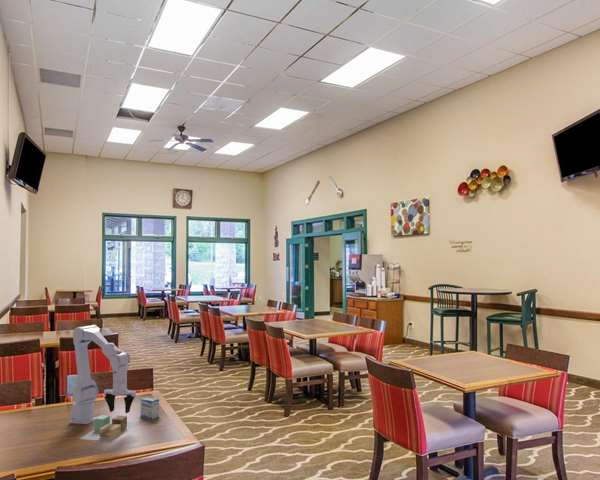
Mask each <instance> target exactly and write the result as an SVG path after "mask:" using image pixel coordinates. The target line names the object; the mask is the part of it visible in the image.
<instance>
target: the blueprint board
mask: <svg viewBox="0 0 600 480" xmlns="http://www.w3.org/2000/svg"><path fill="white" fill-rule="evenodd" d="M110 424H112V419H110ZM138 424H140V421H138V422H137V421H128V420H127V428H126V429H124V430H123V431H121V433H120V434H118V435H117V436H115V437H114V438H102V437H100V431H98V430H94V429H93V430H91V431H90V432H88V433H86V434H85V435H84V436H82V437H80V438H79V440H88V441H101V442H114V441H115V440H116V439H118V438H119V437H121V436H122V435H123V434H125V433H126V432H128V431H129V430H131V429H132V428H133V427H135V426H137V425H138Z"/></svg>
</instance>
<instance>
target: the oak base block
mask: <svg viewBox="0 0 600 480" xmlns="http://www.w3.org/2000/svg"><path fill="white" fill-rule="evenodd" d="M120 433H121V425H119V424H107V425H105V426H104V427H102V428H100V437H102V438H114V437H115V436H117V435H118V434H120Z"/></svg>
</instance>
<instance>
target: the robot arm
mask: <svg viewBox="0 0 600 480" xmlns="http://www.w3.org/2000/svg"><path fill="white" fill-rule="evenodd" d="M72 340H73V341H72V342H73V345H74V353H75V362H76V370H77V371H76V373H77V379H78V381H77V383H76V384H75V385H74V386H73V387H72V388H73V390H72V391H73V392H72V399H73V403H72V404H71V407H70V421H69V423H70V424H82V425H85V424H86V425H89V424H90V423H92V422H94V419H95V418H97V417H98V416H97V417H96V416H95V401H96V399H97V397H98V396H99V388H98V386H97V382H96V381H94V380H93V379H92V378H91V368H90V360H89V357H90V356H89V350H88V348H89V347H88V345H89V344H90V343H91V342H93V343H95V344H96V345H98V347H100V348H101V352H102V354H104V356H105V357H106V358H107V359H108V360H109V363H110V366H111V371H112V389H111V388H110V389H104V390H103V395H104V397H103V398H104V400H105V402H106V403H107V406H108V409H109V413H112V412H114V411H115V401H116V396H124V397H123V401H124V407H125V408H124V411H125V414H128V413H130V411H131V407H132V404H133V402H134V399H135V397H136V396H137V391H136V390H131V389H128V383H127V382H128V377H127V376H128V365H129V364H130V362H131V357H130V354H129V353H128V352H127V351H123V350H121V349H120V348H118V347H117V346H116V345H115V343H114V342H108V341H107V339H106V338H105V337H104V336H103V334H102V333H101V329H100V327H98V325H96V324H92V325H85V326H77V327H75V328H74V330H73V331H72Z"/></svg>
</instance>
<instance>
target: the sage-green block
mask: <svg viewBox="0 0 600 480" xmlns="http://www.w3.org/2000/svg"><path fill="white" fill-rule="evenodd" d="M110 420H111V416H110V415H104V414H100V415H99V416H97V418H95V419H94V421H93V423H94V425H93V427H94V428H93V430H98V431H100V428H102V427H104V426H105V425H107V424H110Z"/></svg>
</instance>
